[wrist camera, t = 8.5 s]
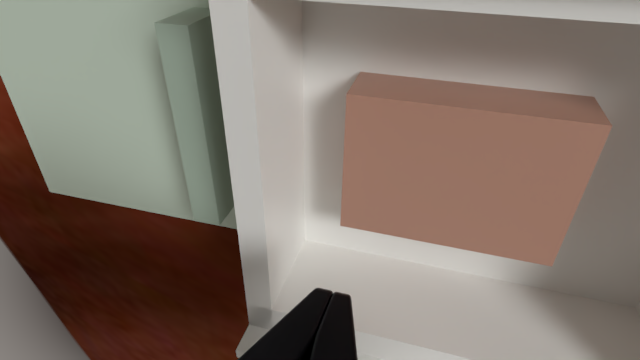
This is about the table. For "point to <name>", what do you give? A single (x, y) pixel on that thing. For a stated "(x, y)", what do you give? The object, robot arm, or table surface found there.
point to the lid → (121, 102)
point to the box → (439, 171)
